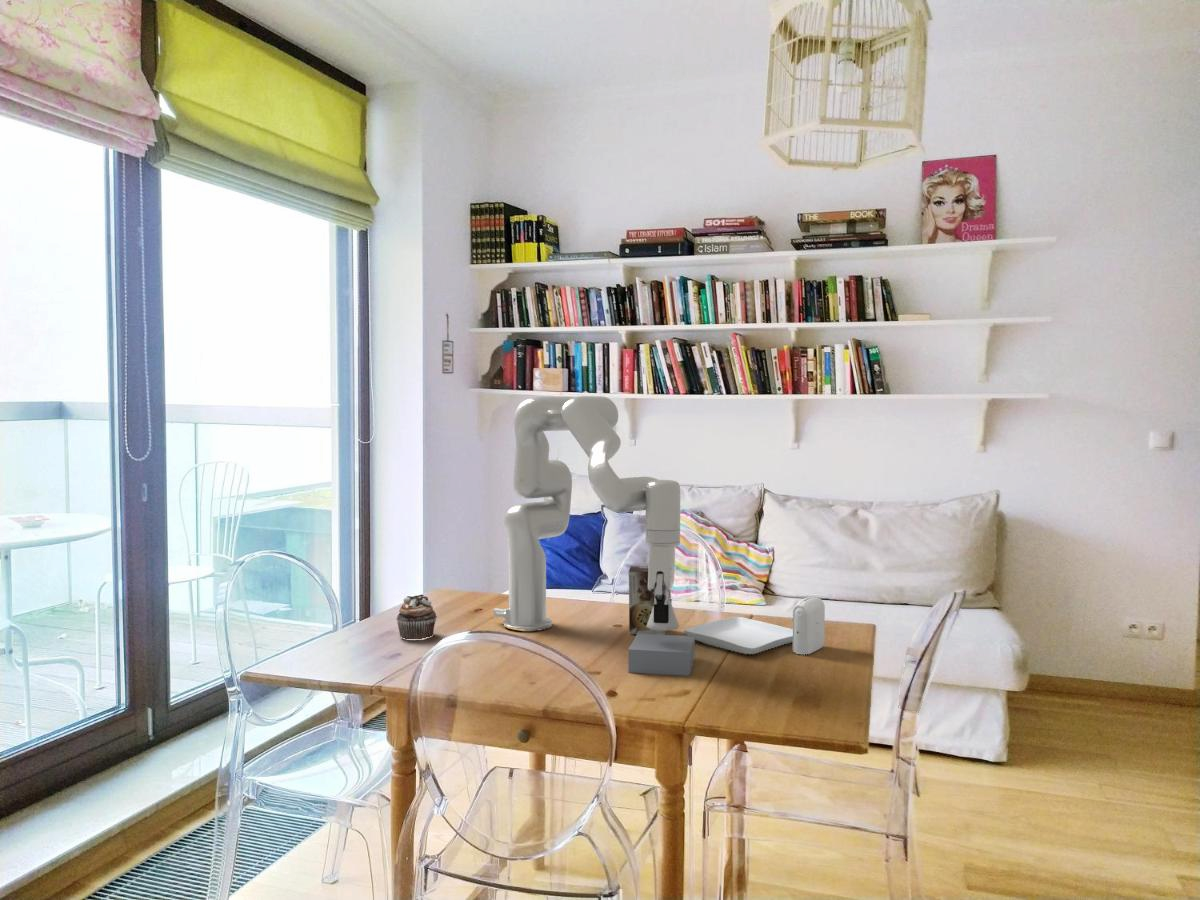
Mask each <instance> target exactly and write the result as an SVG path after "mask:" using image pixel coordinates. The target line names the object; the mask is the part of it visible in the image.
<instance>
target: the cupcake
mask: <svg viewBox="0 0 1200 900" xmlns="http://www.w3.org/2000/svg"><path fill="white" fill-rule="evenodd" d="M398 612H399V613H398V614H397V617H396V623H397V627H398V631H399V637H400V638H401V637H402V638H405V639H422V638H426V637H430V636H432V635H433V636H434V632H435V631H434V630H435V625H436V622H437V613H436V611H435V610H434V609H433V605H432V600H431V599H429V597H427V596H424V594H419V595H414V596H410V595H409V596H408V595H407V596H406V597H403V604H402V605H401V606H400V608H399V609H398Z"/></svg>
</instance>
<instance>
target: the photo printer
mask: <svg viewBox="0 0 1200 900" xmlns="http://www.w3.org/2000/svg"><path fill="white" fill-rule="evenodd" d="M825 610H826V607H825V602H824V601H823V600H822V599H821V598H820V597H816V596H807V597H805V598H803V599H801V600H800V601H798V602H797V603H796V604H795V606H794V608H793V610H792V629H793V642H792V652H793V653H794V652H795V653H797V654H806V655H805V656H808V655H810V654H812V653H815V652H817V651H819V650H820V649H822V648H823V647H824V646H825V625H826V624H825V619H826V618H825V617H826V616H825V615H826V614H825ZM795 653H794V654H795ZM797 654H796V655H797ZM807 654H808V655H807Z"/></svg>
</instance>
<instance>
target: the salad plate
mask: <svg viewBox="0 0 1200 900" xmlns="http://www.w3.org/2000/svg"><path fill="white" fill-rule="evenodd" d="M682 631H683V632H684V634H685V635H686V636H695V640H696V641H697V642H701V643H702V642H703V644H704V643H706V644H705V645H707V644H709V645H708V646H711V645H713V646H712V647H714V646H717V647H716V648H718V647H720V648H719V649H722V648H724V649H723V650H726V649H727V651H729V650H731V651H730V652H733V651H735V652H734V653H737V652H739V653H738V654H741V653H743V654H742V655H747V654H749V655H750V656H751V654H752V655H756V653H757V654H760V653H763V652H766V651H765V650H767V651H769V650H768V649H770V650H772V649H771V648H773V649H775V647H776V648H779V647H781V645H782V646H784V644H785V645H787V644H788V645H789V644H790V643H793V628H789V627H786V626H781V625H779V624H778V625H777V624H773V623H769V622H765V621H760V620H756V619H751V618H747V617H744V616H743V617H741V616H732V617H727V618H723V619H719V620H718V619H717V620H713V621H709V622H705V623H701V624H699V625H694V626H690V627H687V628H683V630H682ZM778 646H779V647H778ZM762 651H763V652H762ZM759 652H760V653H759Z"/></svg>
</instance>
